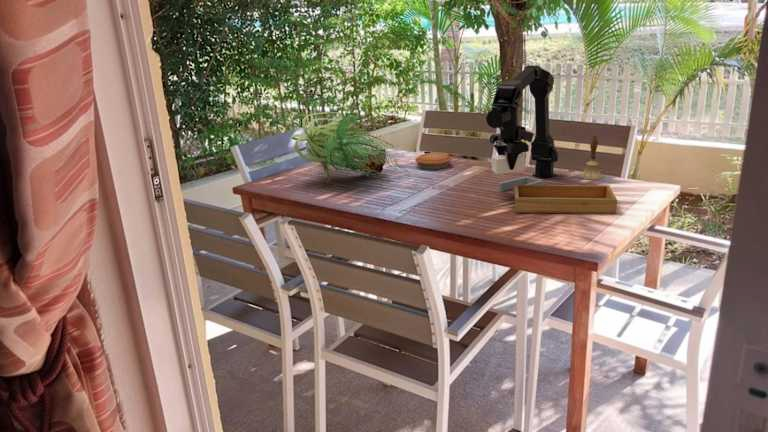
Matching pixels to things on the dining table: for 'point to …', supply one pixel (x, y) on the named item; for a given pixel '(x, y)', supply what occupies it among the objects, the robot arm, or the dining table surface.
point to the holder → (518, 183)
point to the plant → (344, 147)
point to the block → (502, 165)
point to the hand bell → (592, 163)
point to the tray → (565, 199)
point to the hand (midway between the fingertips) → (508, 167)
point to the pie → (433, 161)
